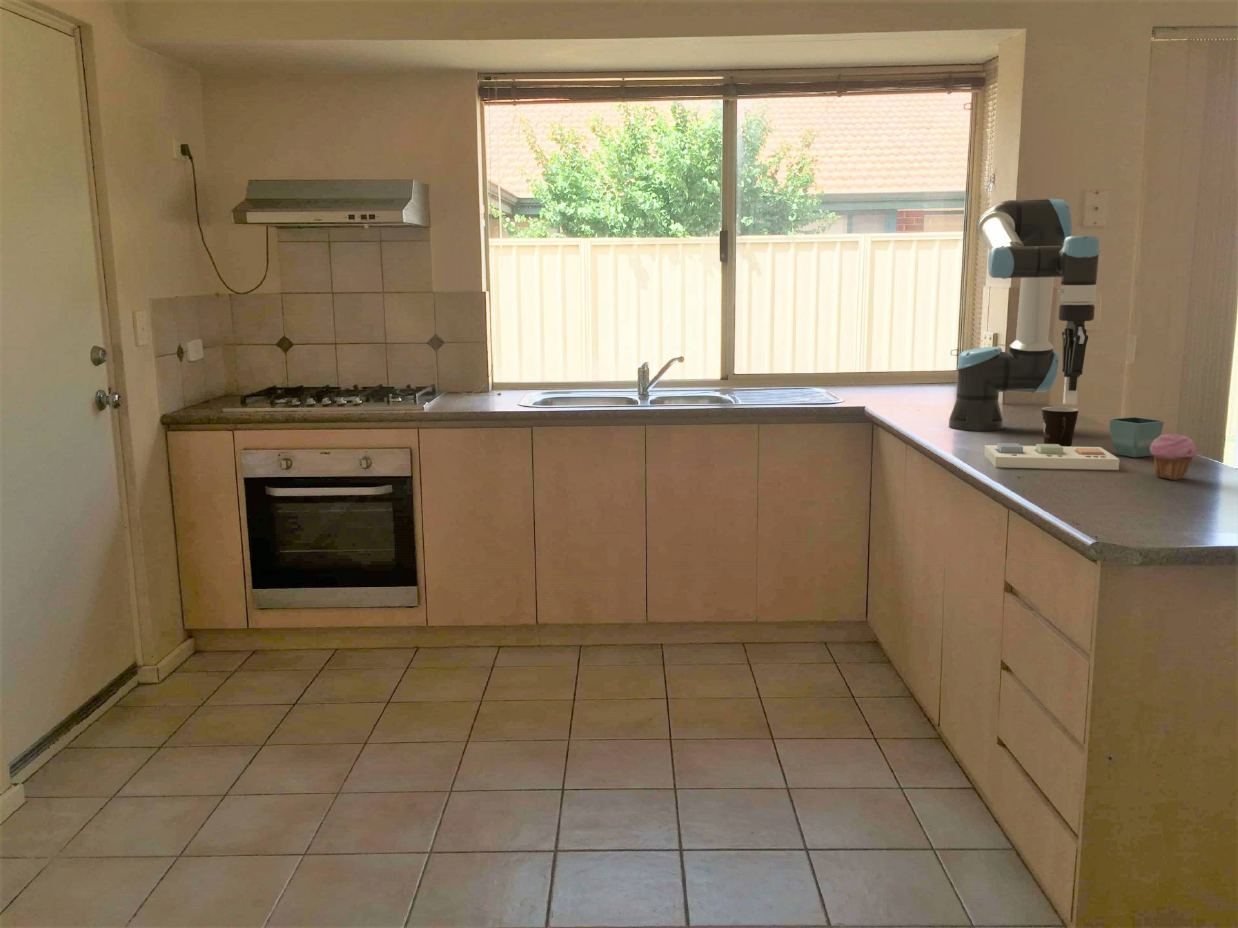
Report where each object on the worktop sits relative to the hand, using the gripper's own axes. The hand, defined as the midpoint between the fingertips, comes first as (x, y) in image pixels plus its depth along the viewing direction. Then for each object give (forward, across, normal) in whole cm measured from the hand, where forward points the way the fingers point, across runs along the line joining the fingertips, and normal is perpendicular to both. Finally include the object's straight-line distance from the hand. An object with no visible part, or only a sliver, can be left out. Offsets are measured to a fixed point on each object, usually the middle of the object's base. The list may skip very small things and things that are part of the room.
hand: (1069, 403), depth 234 cm
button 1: (+13, 0, -13) cm, 18 cm away
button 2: (+13, 0, -4) cm, 13 cm away
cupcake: (+14, +17, +18) cm, 28 cm away
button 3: (+14, 0, +5) cm, 15 cm away
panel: (+14, 0, -4) cm, 15 cm away
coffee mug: (+15, -20, +3) cm, 25 cm away
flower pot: (+15, -10, +18) cm, 26 cm away
